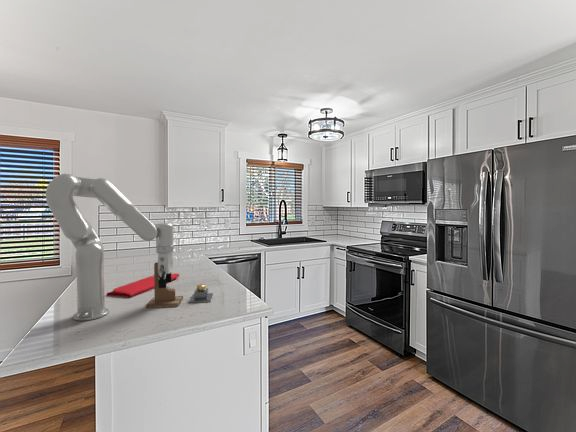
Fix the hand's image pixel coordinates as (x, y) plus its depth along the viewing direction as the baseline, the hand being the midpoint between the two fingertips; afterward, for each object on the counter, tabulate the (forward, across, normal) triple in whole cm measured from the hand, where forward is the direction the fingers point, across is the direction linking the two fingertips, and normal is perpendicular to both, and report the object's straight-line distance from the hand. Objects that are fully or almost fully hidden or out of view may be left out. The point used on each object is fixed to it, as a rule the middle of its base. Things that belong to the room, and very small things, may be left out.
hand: (165, 284), depth 138 cm
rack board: (+9, 0, 0) cm, 9 cm away
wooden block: (+7, 0, 0) cm, 8 cm away
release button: (+4, +4, -16) cm, 17 cm away
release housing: (+9, +4, -16) cm, 19 cm away
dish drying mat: (+10, +33, +18) cm, 39 cm away
